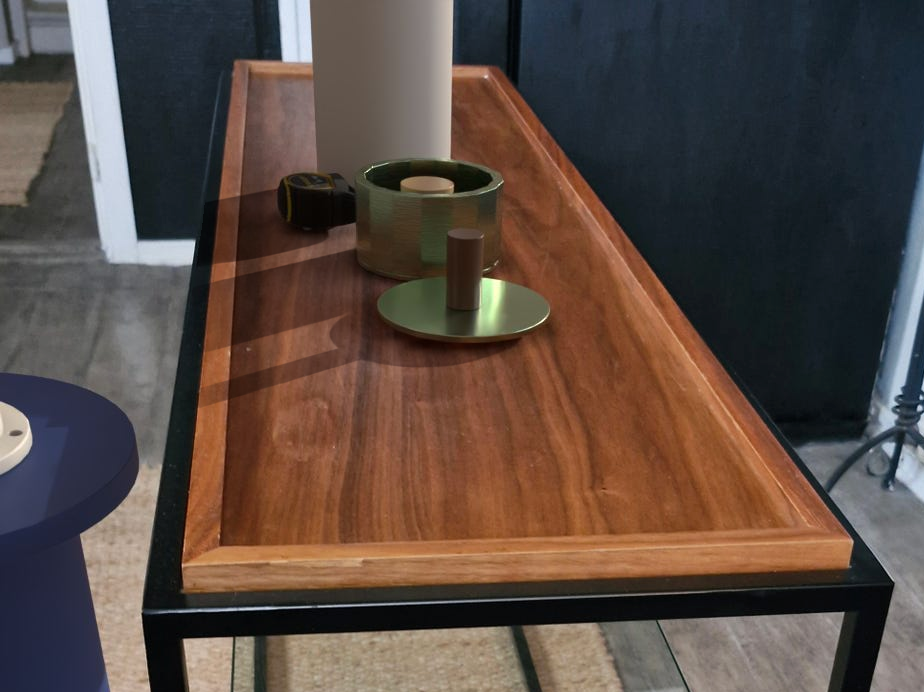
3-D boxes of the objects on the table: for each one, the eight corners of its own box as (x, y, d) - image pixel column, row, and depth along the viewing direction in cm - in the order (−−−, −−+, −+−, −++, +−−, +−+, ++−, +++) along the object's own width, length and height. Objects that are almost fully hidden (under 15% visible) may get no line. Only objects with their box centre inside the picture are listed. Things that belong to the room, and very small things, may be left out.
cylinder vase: (429, 169, 122) (432, -136, 107) (465, 204, 113) (474, -124, 98) (306, 174, 119) (290, -139, 104) (333, 211, 110) (320, -127, 95)
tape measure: (366, 234, 105) (365, 188, 103) (287, 239, 103) (285, 192, 101) (347, 212, 110) (345, 167, 108) (271, 216, 108) (268, 171, 106)
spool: (402, 262, 98) (402, 190, 95) (399, 246, 101) (398, 176, 98) (454, 262, 98) (456, 190, 95) (449, 246, 102) (450, 176, 98)
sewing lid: (384, 353, 84) (382, 263, 80) (371, 291, 94) (369, 208, 90) (563, 350, 85) (570, 261, 82) (533, 289, 95) (538, 207, 91)
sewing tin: (362, 283, 95) (359, 197, 91) (353, 238, 104) (351, 157, 100) (509, 281, 96) (513, 196, 93) (488, 237, 105) (490, 157, 101)
